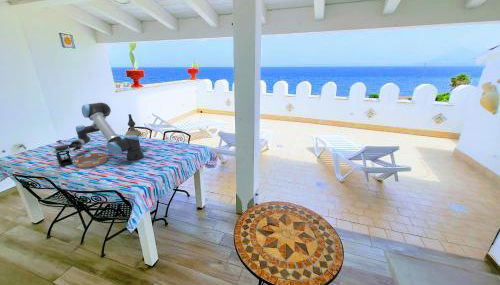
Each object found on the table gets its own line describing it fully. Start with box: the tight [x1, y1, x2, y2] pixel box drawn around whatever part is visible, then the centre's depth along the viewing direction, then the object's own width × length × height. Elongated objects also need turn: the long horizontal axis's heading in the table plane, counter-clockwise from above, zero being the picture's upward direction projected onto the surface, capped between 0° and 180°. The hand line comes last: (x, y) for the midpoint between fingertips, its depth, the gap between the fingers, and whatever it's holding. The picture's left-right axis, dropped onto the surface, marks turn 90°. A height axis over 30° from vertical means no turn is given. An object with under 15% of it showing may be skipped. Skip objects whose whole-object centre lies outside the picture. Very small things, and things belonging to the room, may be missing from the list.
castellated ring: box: [73, 151, 108, 169], centre depth 190 cm, size 24×24×6 cm
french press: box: [53, 139, 74, 167], centre depth 182 cm, size 12×9×23 cm
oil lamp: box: [124, 114, 143, 152], centre depth 213 cm, size 15×15×40 cm
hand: (62, 151), depth 182 cm, fingers open, 13 cm apart
